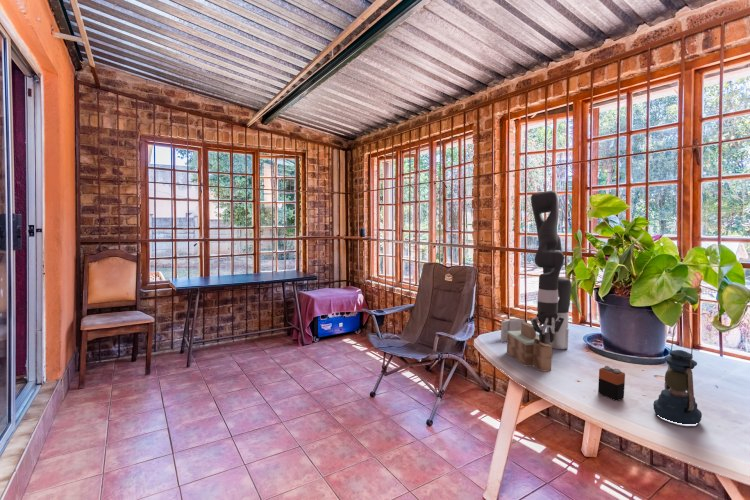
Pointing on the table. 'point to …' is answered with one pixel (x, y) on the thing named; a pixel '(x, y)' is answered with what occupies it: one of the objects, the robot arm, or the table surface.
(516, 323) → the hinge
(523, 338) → the lid
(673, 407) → the lantern
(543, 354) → the toolbox
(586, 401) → the table surface
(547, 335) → the bolt
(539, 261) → the robot arm
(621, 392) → the battery
